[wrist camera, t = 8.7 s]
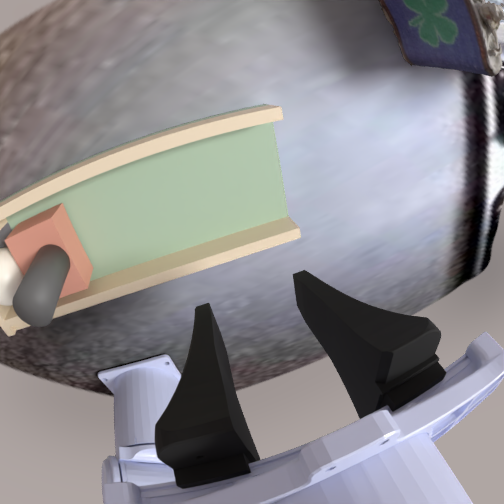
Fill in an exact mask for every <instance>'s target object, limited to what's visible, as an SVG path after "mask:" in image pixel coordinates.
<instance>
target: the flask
mask: <svg viewBox="0 0 504 504" xmlns="http://www.w3.org/2000/svg"><path fill="white" fill-rule="evenodd" d="M379 2H380V3H381V6H382V10H383V12H384V15H385V16H386V19H387V20H388V22H390V23H391V25H393V28H394V31H393V33H394V34H395V35H396V36H397V38H398V43H399V44H398V45H399V46H400V48H401V52H402V54H403V58H404V59H405V60H406V61H407V62H408V63H410V65H411V66H412V64H413V65H418V66H427V67H438V68H443V69H444V68H446V69H455V70H460V71H467V72H473V73H478V74H484V75H488V76H495V75H496V74H497V73H499V71H500V69H501V67H502V60H501V54H502V48H501V45H500V44H498V37H497V32H496V31H497V30H498V28H499V25H500V22H499V21H500V20H504V12H503V10H502V7H504V4H502V3H501V6H502V7H501V6H500V5H496V4H495V3H492V4H491V3H490V2H489V1H488V3H486V2H485V0H379Z"/></svg>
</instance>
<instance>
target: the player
mask: <svg viewBox="0 0 504 504" xmlns="http://www.w3.org/2000/svg"><path fill="white" fill-rule="evenodd" d="M4 241H5V243H6V245H7V246H8V248H9V250H10V252H11V254H12V256H13V258H14V259H15V261H16V263H17V265H18V266H19V268H20V270H21V272H22V273H23V275H24V277H23V279H22V281H21V283H20V285H19V287H18V289H17V291H16V293H15V295H14V297H13V301H12V303H13V308H14V311H15V313H16V314H17V315H18V317H19V318H20V319H21V320H22V321H24V322H25V323H27V324H29V325H31V326H35V327H44V326H47V325H48V324H49V323H50V322H51V321H52V319H53V315H54V312H55V309H56V306H57V303H58V300H59V298H62V297H65V296H67V295H70V294H73V293H76V292H79V291H82V290H85V289H88V286H89V282H90V278H91V275H92V271H93V266H92V264H91V262H90V260H89V258H88V256H87V254H86V252H85V250H84V248H83V246H82V244H81V242H80V240H79V238H78V236H77V234H76V232H75V230H74V227H73V225H72V223H71V221H70V219H69V216H68V214H67V212H66V210H65V207H64V205H63V203H61V204H58V205H56V206H54V207H52V208H50V209H47V210H45V211H43V212H41V213H39V214H37V215H35V216H33V217H31V218H28V219H26V220H24V221H22V222H20V223H18V224H17V226H16V227H15V228H14V229H13V230H12V232H11V233H10V234H9V235H8V237H7V238H6V239H5V240H4Z"/></svg>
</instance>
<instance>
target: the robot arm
mask: <svg viewBox="0 0 504 504" xmlns="http://www.w3.org/2000/svg"><path fill="white" fill-rule="evenodd" d="M293 279H294V286H295V294H296V301H297V306H298V308H299V310H300V312H301V314H302V316H303V318H304V320H305V322H306V323H307V325H308V326H309V328H310V329H311V331H312V332H313V334H314V335H315V337H316V338H317V339H318V341H319V342H320V344H321V345H322V347H323V348H324V350H325V351H326V352H327V354H328V356H329V357H330V359H331V360H332V362H333V364H334V366H335V368H336V369H337V372H338V373H339V375H340V377H341V379H342V381H343V383H344V385H345V387H346V389H347V392H348V394H349V396H350V398H351V400H352V402H353V404H354V407H355V409H356V411H357V413H358V416H359V418H360V419H359V420H357V421H355V422H354V423H351V424H349V425H347V426H345V427H343V428H341V429H338V430H336V431H334V432H332V433H330V434H327V435H325V436H323V437H320V438H319V439H316V440H314V441H312V442H309V443H307V444H304V445H302V446H299V447H296V448H294V449H291V450H288V451H286V452H283V453H280V454H277V455H275V456H271V457H269V458H265V459H262V460H260V457H259V455H258V452H257V450H256V447H255V444H254V442H253V439H252V437H251V434H250V431H249V429H248V426H247V423H246V421H245V418H244V415H243V412H242V410H241V407H240V404H239V401H238V398H237V395H236V391H235V387H234V383H233V378H232V374H231V369H230V365H229V360H228V355H227V351H226V348H225V345H224V342H223V339H222V335H221V332H220V330H219V327H218V325H217V322H216V320H215V317H214V315H213V312H212V309H211V307H210V304H209V303H207V304H204V305H201V306H197V307H196V308H195V320H194V329H193V335H192V340H191V345H190V349H189V353H188V357H187V361H186V364H185V367H184V370H183V373H182V375H181V374H180V372H179V371H178V369H177V368H176V366H175V365H174V363H173V361H172V360H171V358H170V357H169V356H168V355H160V356H157V357H153V358H150V359H146V360H143V361H139V362H135V363H132V364H128V365H124V366H120V367H116V368H112V369H108V370H104V371H100V372H99V373H98V377H99V379H100V380H101V381H102V382H103V383H104V384H105V385H106V386H107V387H108V388H109V390H110V391H111V392H112V393H113V394H114V429H115V449H116V455H115V456H108V458H107V459H105V460H104V461H103V464H102V494H103V503H104V504H473V503H472V501H471V500H470V498H469V496H468V495H467V493H466V492H465V490H464V489H463V487H462V486H461V484H460V482H459V481H458V479H457V478H456V476H455V475H454V473H453V472H452V470H451V469H450V467H449V466H448V464H447V462H446V461H445V459H444V458H443V456H442V455H441V454H440V452H439V451H438V449H437V448H436V446H435V445H434V443H433V442H435V441H436V440H437V439H439V438H440V437H441V436H443V435H444V434H445V433H446V432H447V431H449V430H450V429H451V428H453V427H454V426H455V425H456V424H457V423H458V422H460V421H461V420H462V419H463V418H464V417H465V416H467V415H468V414H469V413H470V412H471V411H472V410H473V409H475V408H476V407H477V406H478V405H479V404H480V403H481V402H482V401H483V400H484V399H486V398H487V396H489V395H490V394H491V393H492V392H493V391H494V390H495V389H496V388H497V386H498V385H499V384H500V382H501V381H502V380H503V378H504V349H503V348H502V347H501V346H500V345H499V344H498V343H497V342H496V341H495V340H494V339H493V338H492V337H491V336H490V335H489V334H488V333H487V332H483V333H482V334H481V335H480V336H478V337H477V338H476V339H475V340H474V341H472V342H471V344H470V345H469V346H468V348H467V350H466V353H465V354H464V355H463V356H462V357H460V358H459V359H458V360H456V361H455V362H453V363H452V364H451V365H449V366H448V367H447V368H445V369H443V367H442V366H441V365H440V364H439V363H438V361H439V358H438V356H437V355H436V354H435V352H436V349H437V347H438V344H439V342H440V338H441V332H440V331H439V329H438V328H437V327H436V326H435V325H434V324H433V323H432V322H431V321H430V320H429V319H428V318H426V317H417V316H409V315H404V314H399V313H394V312H390V311H387V310H383V309H380V308H377V307H374V306H371V305H368V304H366V303H363V302H361V301H358V300H356V299H354V298H352V297H350V296H348V295H346V294H344V293H342V292H340V291H338V290H336V289H335V288H333V287H331V286H329V285H328V284H326V283H324V282H323V281H321V280H320V279H318V278H317V277H315V276H313V275H312V274H310V273H309V272H307V271H305V270H303V271H301V272H298V273H295V274H293Z"/></svg>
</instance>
